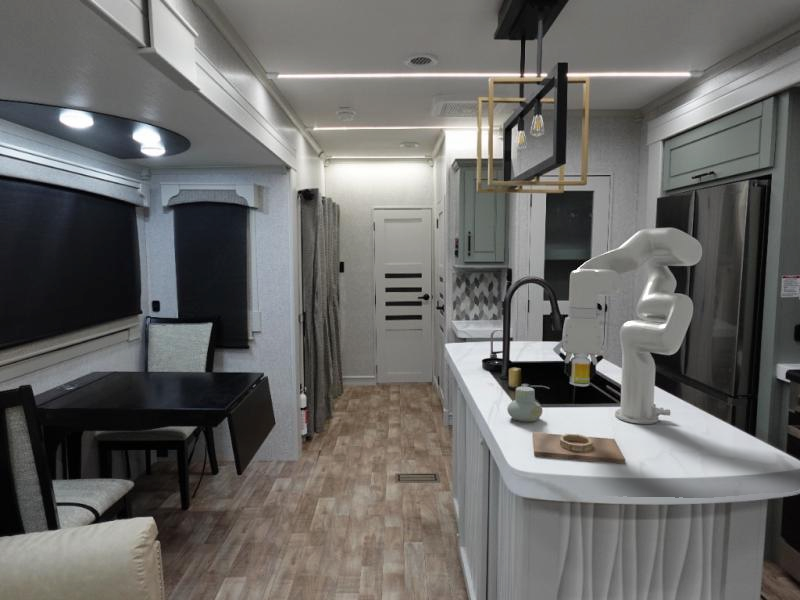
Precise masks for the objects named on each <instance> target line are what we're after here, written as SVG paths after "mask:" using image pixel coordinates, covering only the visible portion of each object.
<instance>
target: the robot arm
mask: <svg viewBox="0 0 800 600" xmlns="http://www.w3.org/2000/svg"><path fill="white" fill-rule="evenodd" d="M702 255H703V247H702V244H701V243H700V241H698V239H697V238H695V237H693V236H692V235H690V234H689V233H686V232H684V231H683V230H680V229H678V228H675V227H652V228H644V229H640V230H639V231H637V232H635V234H633V235H632V236H631V237H630V238H629V239H627V240H626V241H625V242H624V243H623V244H621V245H620V246H619V247H617V248H615V249H613V250H609V251H607V252H604V253H602V254H600V255H597V256H595V257H592V258H591V259H589V260H587V261H585V262H584V263H583V264H582V265H580V266H579V267H578V268H577V269H575V270H572V271H571V272H570V274H569V291H568V292H569V293H568V294H569V295H568V313H567V314H568V315H567V317H565V319H564V322H563V328H562V338H561V340H560V341H559V342H558V343H557V344H556V345H555V346H554V347H553V349H552V350H553V352H554V353H555V354H556V355H557V356H559V358H560V359H561V360H563V362H564V374H566V376H567V378H570V375H571V363H570V362H571V359H572V356H573V354H578V353H584V354H589V358H590V361H591V365H590V380H593V379H594V376H596V375H597V373H596V372H597V365H598V364H599V362H601V361H602V360H603V359H605V358H606V357H607V356H609V355H610V353H611V352H610V351H609V350H608V349H607V347H606V346H605V345H604V344H603V342H602V337H601V336H602V335H601V334H602V332H601V324H600V319H599V318H598V316H602V315H603V314H604V313H603V310H602V309H601V310H600V309H599V308H598V298H599V297H598V296H605V297H606V296H607V297H608V296H610V297H611V296H614V295H617V294H618V293H619V292H620V291H621V290H622V289H623V286H624V278H623V275H625V274H626V275H627V274H629V273H633V272H636V271H637V270H638V269H640V267H642V266H643V265H644V264H645V266H646V271H647V282H646V283H645V286H644V289H643V290H642V293H641V295H640V297H639V299H638V303H637V306H636V315H637V317H639V318H640V319H631V320H628V321H626V322H624V323H623V324H622V325H621V327H620V329H619V339H620V345H621V355H622V356H621V358H622V362H621V381H620V383H621V387H620V408H619V409H617V410H615V412H614V415H615V417H616V418H617V419H619V420H621V421H624V422H628V423H633V424H637V425H638V424H639V425H651V424H652V425H653V424H656V423H658V422H659V416H660V415H661V416H662V415H663V416H671V413H672V412H671V409H669V408H667V409H666V408H664V407H657V406H656V405H655V385H656V383H655V382H656V363H655V359H654V358H653V356H652V354H651V353H653V354H657V355H658V354H659V355H664V356H671V355H674V354H676V353H677V352H678V351H679V349H680V348H681V346H682V344H683V342H684V339H685V336H686V334H687V331H688V329H689V326H690V323H691V321H692V318H693V314H694V304H693V301H692V298H691V297H690V296H688V295H687V294H684V293H675V290H676V288H677V280H676V278H675V276H674V274H673V272H672V271H671V270H670V266H671V267H672V266H673V267H682V266H683V267H689V266H691V267H692V266H695V265H696V264H697V263H699V262H700V261H701V259H702ZM668 266H669V267H668ZM641 319H642V320H641ZM561 348H562V351H563V352H562V351H561ZM564 352H565V354H564Z"/></svg>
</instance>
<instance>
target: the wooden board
mask: <svg viewBox="0 0 800 600" xmlns="http://www.w3.org/2000/svg"><path fill="white" fill-rule="evenodd" d="M532 444H533V445H532V446H533V454H534V457H543V458H554V459H556V458H557V459H566V460H578V461H590V462H599V463H610V464H611V463H612V464H620V465H621V464H623V465H624V464H626V458H625V456H624V454H623V452H622V451H621V449H620V446H619V445H618V443H617V441H616V440H615V438H611V437H610V438H608V437H597V436H595V437H594V436H585V435H583V434H576V433H565V434H558V433H557V434H556V433H545V432H544V433H542V432H532Z"/></svg>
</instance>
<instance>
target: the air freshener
mask: <svg viewBox="0 0 800 600" xmlns="http://www.w3.org/2000/svg"><path fill="white" fill-rule="evenodd" d="M535 394H536V393H535V389H534V388H533V387H530V386H517V387H516V388H515V399H514V400H512V401H511V402H510V403H509V404H508V405H507V407H506V408H507V409H506V410H507V413H508V415H509V416H510V417H511V418H512V419H514V420H515V421H519V422H525V423H532V421H533V422H535V421H537V420H538V419H539V418H541V416H542V414H543V408H542V406H541V404H540V403H538V401H537V402H536V400H535V399H536V397H535V396H536V395H535Z"/></svg>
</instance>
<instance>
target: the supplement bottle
mask: <svg viewBox="0 0 800 600" xmlns="http://www.w3.org/2000/svg"><path fill="white" fill-rule="evenodd" d="M572 356H573V357H571V358H570V363H571V375H570V377H569V384H570V385H573V386H575V387H588V386H590V383H591V382H590V380H591V378H590V365H591V359H590V358H588V357H590V355H589V354H584V353H578V354H572Z"/></svg>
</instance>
